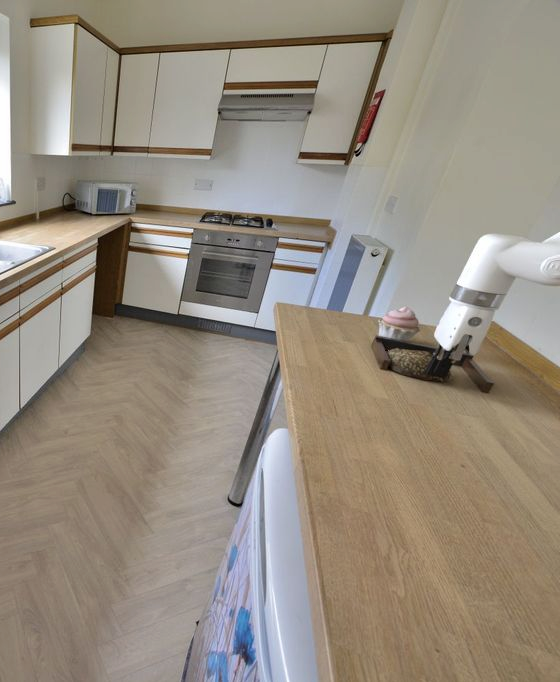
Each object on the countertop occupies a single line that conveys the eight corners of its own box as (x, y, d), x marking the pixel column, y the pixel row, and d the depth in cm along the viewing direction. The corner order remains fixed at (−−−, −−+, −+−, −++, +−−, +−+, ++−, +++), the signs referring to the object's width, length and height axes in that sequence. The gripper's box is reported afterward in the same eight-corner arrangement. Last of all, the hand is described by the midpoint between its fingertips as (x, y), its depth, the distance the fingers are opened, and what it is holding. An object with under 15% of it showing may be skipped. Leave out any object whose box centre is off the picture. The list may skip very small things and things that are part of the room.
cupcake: (363, 334, 117) (376, 301, 113) (390, 333, 118) (404, 300, 114) (393, 348, 108) (409, 313, 104) (422, 347, 110) (438, 312, 106)
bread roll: (385, 372, 96) (394, 353, 94) (380, 353, 105) (387, 335, 103) (457, 389, 90) (467, 369, 88) (444, 367, 99) (453, 349, 97)
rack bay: (465, 365, 101) (471, 353, 100) (488, 393, 89) (496, 380, 87) (371, 345, 110) (375, 335, 108) (380, 369, 97) (385, 357, 96)
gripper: (517, 312, 75) (468, 395, 83) (486, 291, 88) (445, 366, 95) (465, 303, 79) (422, 385, 86) (441, 284, 91) (406, 357, 98)
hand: (434, 374), depth 91 cm, fingers closed
